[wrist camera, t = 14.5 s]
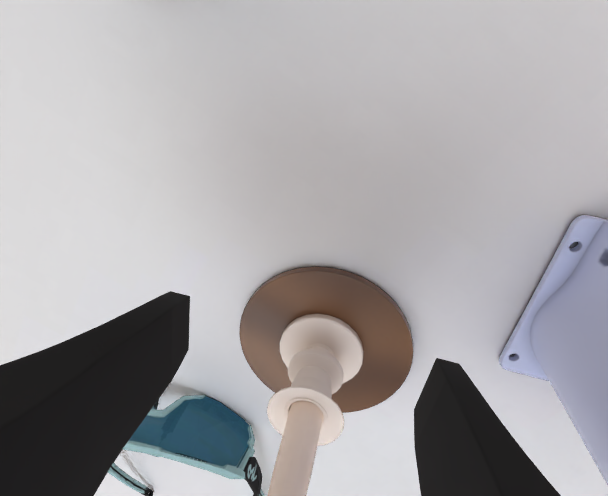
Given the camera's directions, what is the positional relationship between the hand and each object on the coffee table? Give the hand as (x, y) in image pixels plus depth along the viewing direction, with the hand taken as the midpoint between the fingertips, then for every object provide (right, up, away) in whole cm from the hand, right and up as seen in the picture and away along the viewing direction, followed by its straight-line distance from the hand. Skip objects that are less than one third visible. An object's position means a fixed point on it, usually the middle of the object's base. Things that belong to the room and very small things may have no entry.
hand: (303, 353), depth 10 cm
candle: (+1, -3, +12) cm, 13 cm away
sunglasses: (-10, -14, +20) cm, 27 cm away
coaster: (+1, -3, +13) cm, 13 cm away
